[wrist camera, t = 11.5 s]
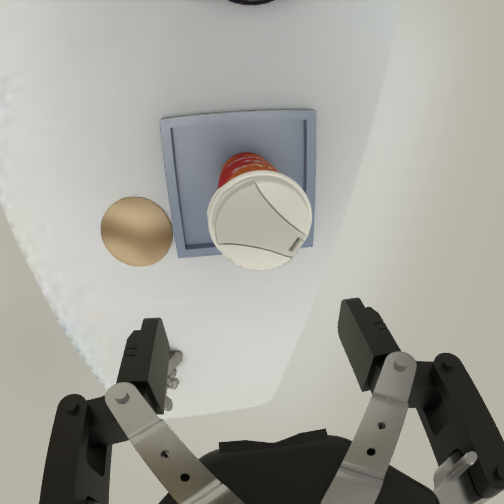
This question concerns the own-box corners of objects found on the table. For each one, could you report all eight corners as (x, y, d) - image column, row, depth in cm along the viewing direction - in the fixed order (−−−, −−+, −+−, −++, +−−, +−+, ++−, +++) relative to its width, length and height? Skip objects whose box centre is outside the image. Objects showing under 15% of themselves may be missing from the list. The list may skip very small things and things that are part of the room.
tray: (162, 118, 31) (159, 119, 29) (311, 109, 32) (316, 110, 30) (179, 250, 39) (178, 257, 37) (308, 239, 40) (312, 246, 38)
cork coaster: (95, 202, 34) (93, 203, 34) (166, 192, 35) (166, 194, 35) (111, 267, 39) (110, 268, 38) (177, 261, 39) (177, 263, 39)
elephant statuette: (180, 339, 46) (176, 375, 39) (190, 389, 51) (188, 424, 44) (123, 338, 46) (111, 373, 39) (139, 388, 51) (132, 422, 44)
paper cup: (293, 164, 34) (337, 209, 22) (257, 220, 37) (279, 290, 25) (232, 128, 32) (241, 153, 20) (197, 189, 35) (186, 248, 22)
